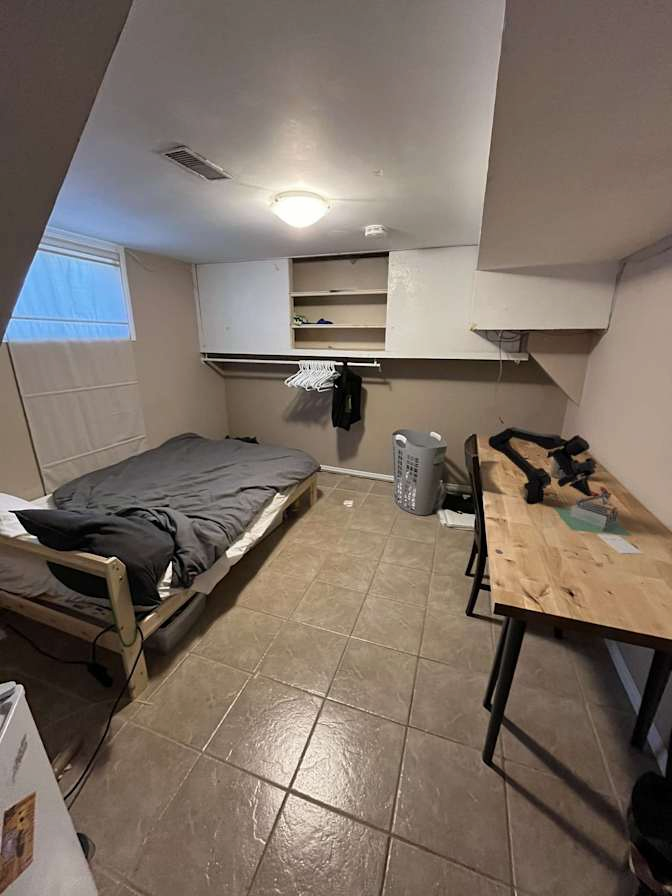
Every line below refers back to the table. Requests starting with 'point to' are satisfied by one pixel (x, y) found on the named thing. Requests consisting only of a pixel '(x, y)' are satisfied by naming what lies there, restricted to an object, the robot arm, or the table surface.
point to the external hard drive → (620, 544)
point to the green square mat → (578, 526)
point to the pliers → (601, 494)
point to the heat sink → (594, 515)
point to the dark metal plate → (595, 497)
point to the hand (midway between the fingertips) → (590, 496)
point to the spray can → (554, 468)
